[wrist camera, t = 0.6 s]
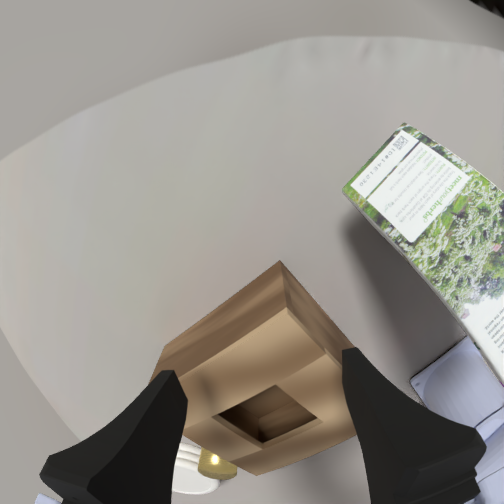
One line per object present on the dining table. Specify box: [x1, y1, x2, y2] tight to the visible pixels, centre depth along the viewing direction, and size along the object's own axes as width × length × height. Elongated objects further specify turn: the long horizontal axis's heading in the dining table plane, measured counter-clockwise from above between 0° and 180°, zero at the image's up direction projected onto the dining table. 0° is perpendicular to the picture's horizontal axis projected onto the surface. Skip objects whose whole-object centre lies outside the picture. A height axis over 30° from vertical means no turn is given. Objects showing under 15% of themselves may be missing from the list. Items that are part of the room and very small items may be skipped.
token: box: [197, 447, 237, 480], centre depth 25 cm, size 4×4×5 cm
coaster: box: [172, 443, 220, 495], centre depth 29 cm, size 10×10×4 cm
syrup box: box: [342, 123, 504, 387], centre depth 12 cm, size 6×6×14 cm
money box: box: [148, 261, 357, 476], centre depth 20 cm, size 12×12×7 cm
